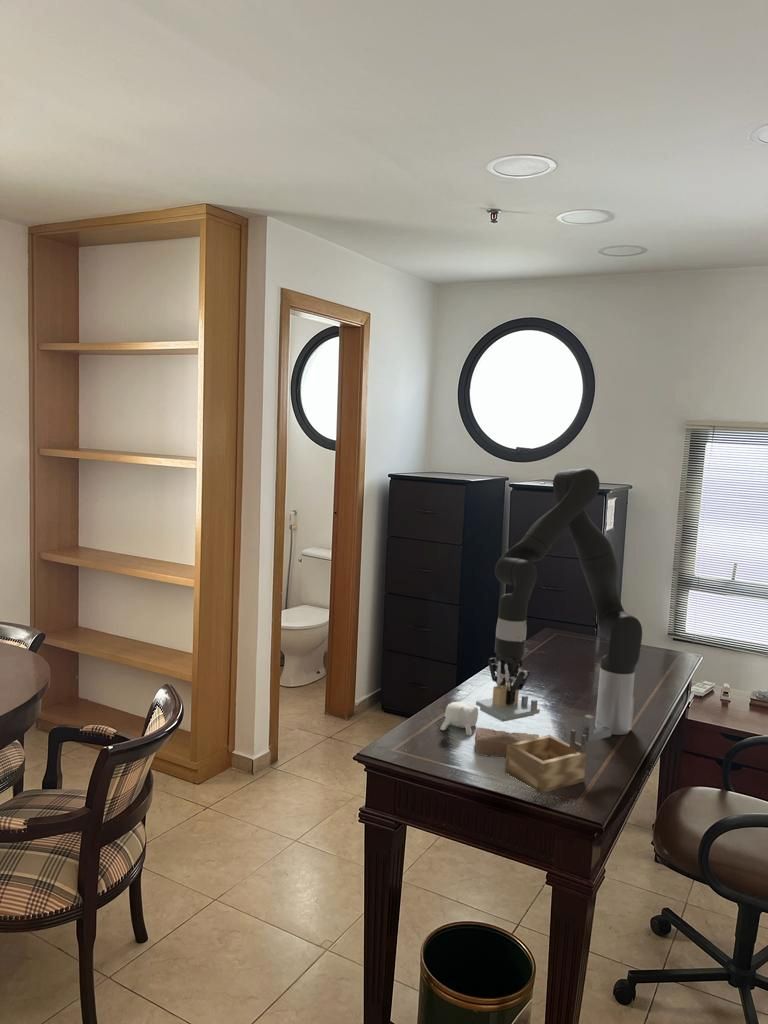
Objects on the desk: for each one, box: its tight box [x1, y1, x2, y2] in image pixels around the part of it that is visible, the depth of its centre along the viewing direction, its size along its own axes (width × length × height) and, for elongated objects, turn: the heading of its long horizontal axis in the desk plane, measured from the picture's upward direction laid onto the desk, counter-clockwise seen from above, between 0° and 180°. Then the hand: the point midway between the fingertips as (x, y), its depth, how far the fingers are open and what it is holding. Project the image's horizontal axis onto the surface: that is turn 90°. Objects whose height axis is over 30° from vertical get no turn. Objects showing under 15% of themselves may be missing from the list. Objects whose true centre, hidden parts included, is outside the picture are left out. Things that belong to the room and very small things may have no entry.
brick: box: [474, 727, 540, 759], centre depth 199 cm, size 17×8×5 cm, turn 85°
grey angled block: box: [582, 714, 612, 743], centre depth 188 cm, size 8×2×6 cm, turn 123°
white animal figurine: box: [440, 701, 479, 737], centre depth 211 cm, size 9×8×15 cm
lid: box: [475, 683, 541, 723], centre depth 198 cm, size 11×11×6 cm
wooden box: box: [504, 729, 587, 794], centre depth 185 cm, size 14×12×11 cm
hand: (505, 702), depth 199 cm, fingers closed on lid, 2 cm apart
